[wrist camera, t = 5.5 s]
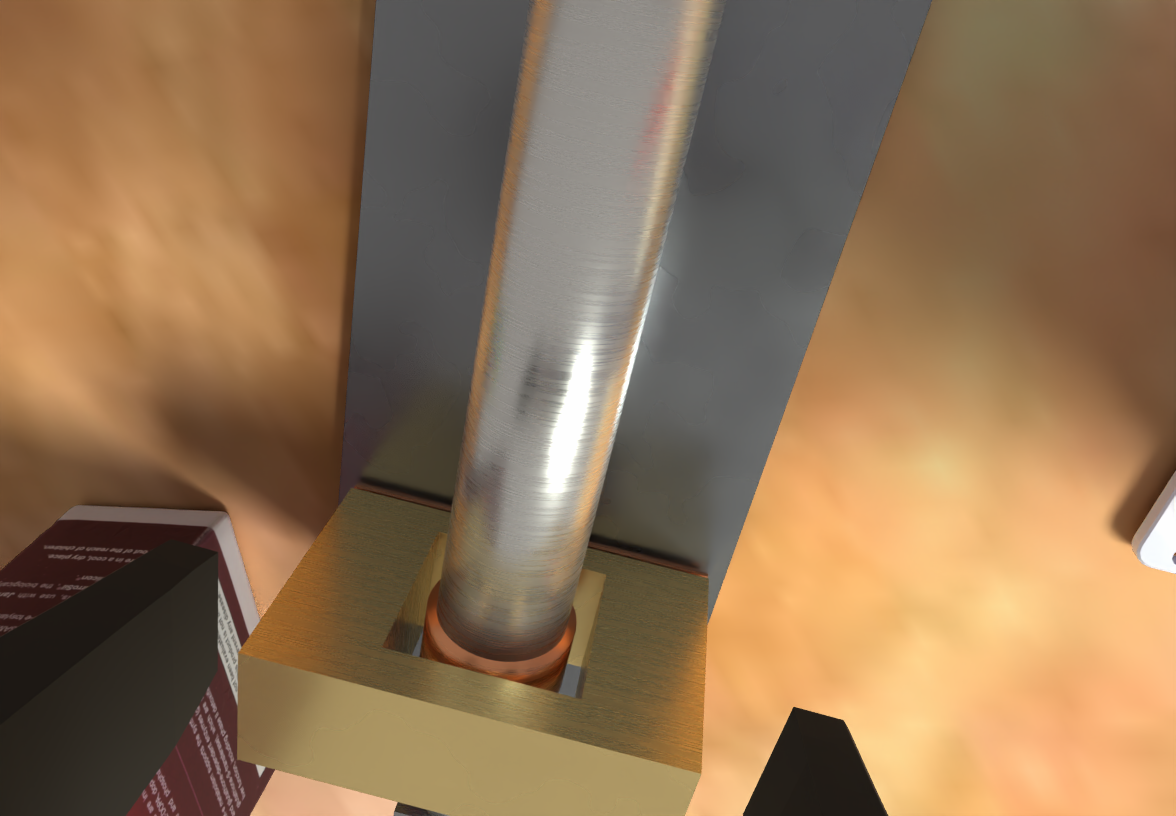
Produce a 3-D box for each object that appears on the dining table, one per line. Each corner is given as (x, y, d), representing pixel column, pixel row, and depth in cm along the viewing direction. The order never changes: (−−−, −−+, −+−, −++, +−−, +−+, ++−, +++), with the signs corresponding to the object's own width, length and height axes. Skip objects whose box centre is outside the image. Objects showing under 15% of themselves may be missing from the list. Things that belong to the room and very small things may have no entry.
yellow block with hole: (351, 487, 21) (237, 652, 16) (709, 578, 21) (701, 773, 16) (343, 582, 23) (237, 759, 18) (677, 668, 23) (662, 872, 18)
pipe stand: (408, -283, 15) (266, -376, 10) (980, -153, 14) (1090, -190, 10) (332, 664, 25) (247, 818, 21) (659, 748, 25) (642, 925, 21)
